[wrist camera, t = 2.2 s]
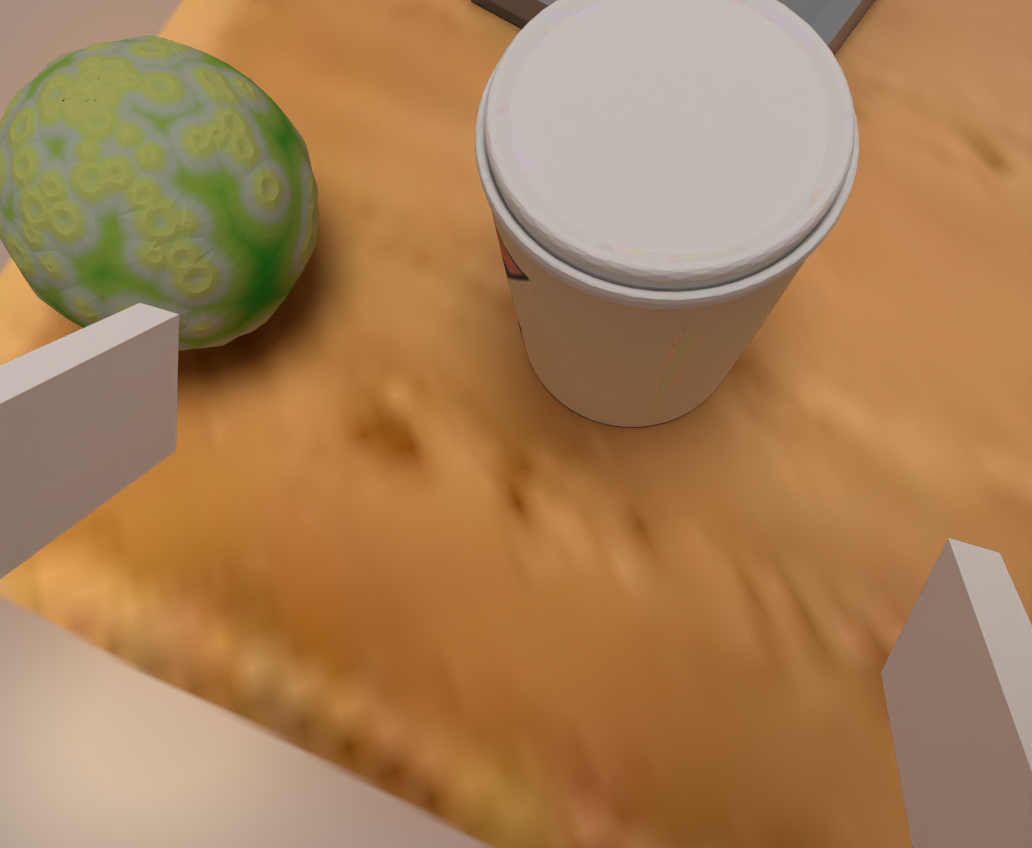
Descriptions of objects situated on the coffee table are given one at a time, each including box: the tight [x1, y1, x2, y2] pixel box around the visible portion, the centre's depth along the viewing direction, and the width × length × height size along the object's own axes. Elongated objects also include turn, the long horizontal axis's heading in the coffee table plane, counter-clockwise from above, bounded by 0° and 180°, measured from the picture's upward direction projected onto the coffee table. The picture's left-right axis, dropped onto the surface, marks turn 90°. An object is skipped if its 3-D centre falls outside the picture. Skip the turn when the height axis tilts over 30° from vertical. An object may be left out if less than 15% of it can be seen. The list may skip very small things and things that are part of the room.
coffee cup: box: [475, 0, 859, 427], centre depth 27 cm, size 9×9×12 cm
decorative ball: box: [0, 36, 319, 351], centre depth 29 cm, size 10×10×10 cm
